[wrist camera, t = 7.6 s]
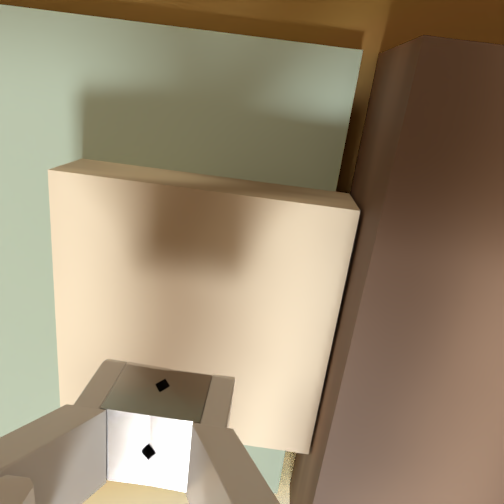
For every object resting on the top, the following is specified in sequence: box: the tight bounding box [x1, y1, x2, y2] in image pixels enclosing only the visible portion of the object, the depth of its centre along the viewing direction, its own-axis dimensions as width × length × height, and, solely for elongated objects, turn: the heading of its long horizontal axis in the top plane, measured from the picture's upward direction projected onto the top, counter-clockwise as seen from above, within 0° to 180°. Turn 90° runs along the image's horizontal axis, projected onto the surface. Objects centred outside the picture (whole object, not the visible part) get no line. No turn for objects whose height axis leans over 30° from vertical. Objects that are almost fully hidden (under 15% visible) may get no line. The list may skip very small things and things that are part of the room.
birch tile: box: [48, 158, 360, 454], centre depth 13 cm, size 8×8×2 cm
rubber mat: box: [0, 4, 363, 494], centre depth 14 cm, size 12×16×1 cm
